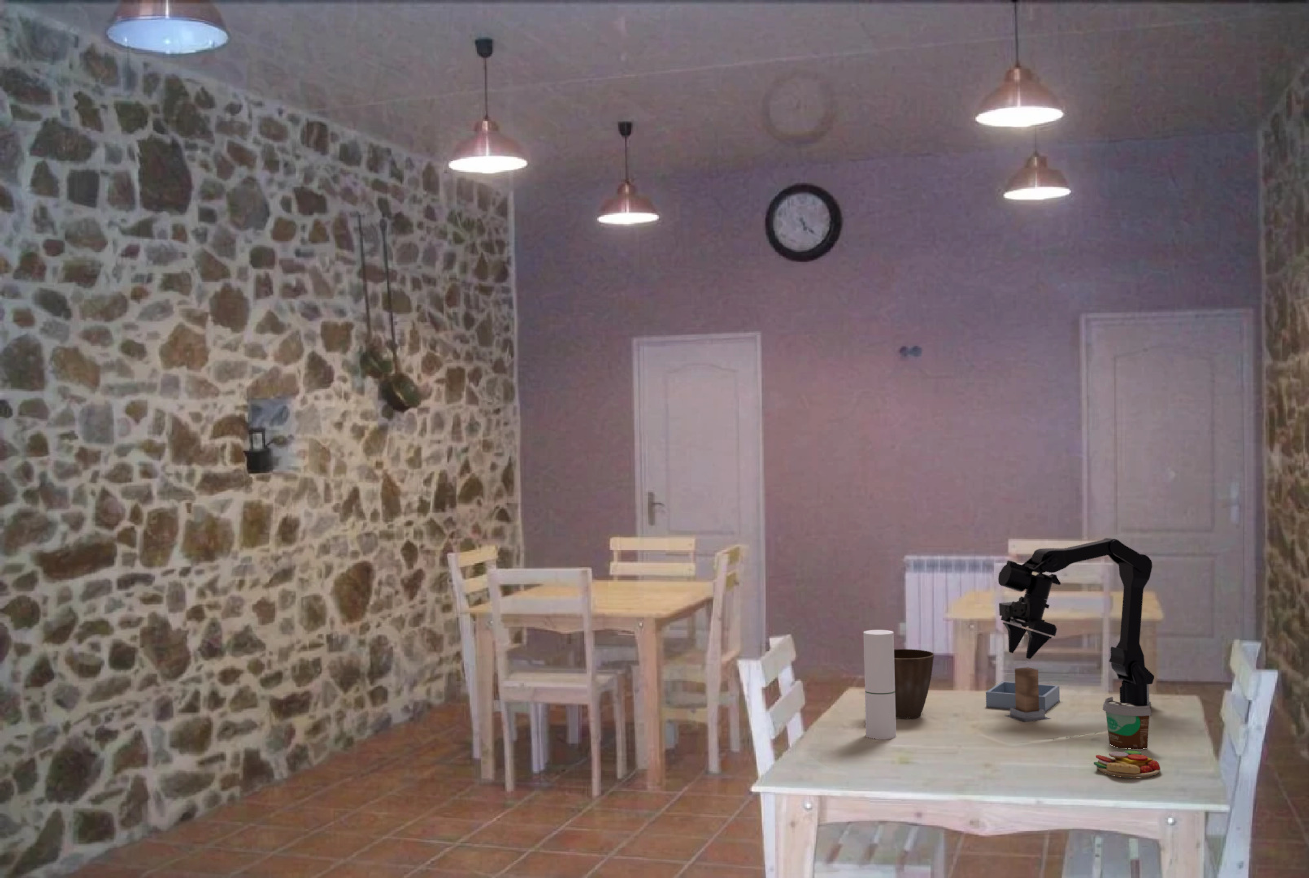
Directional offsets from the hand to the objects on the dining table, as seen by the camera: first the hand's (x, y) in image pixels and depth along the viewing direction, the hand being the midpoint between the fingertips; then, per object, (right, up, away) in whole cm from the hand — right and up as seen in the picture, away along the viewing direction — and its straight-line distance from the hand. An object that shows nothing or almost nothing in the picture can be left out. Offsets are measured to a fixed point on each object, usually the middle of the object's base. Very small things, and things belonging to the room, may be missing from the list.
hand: (1019, 655), depth 330 cm
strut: (0, -14, -6) cm, 16 cm away
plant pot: (-29, -16, +2) cm, 33 cm away
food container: (+14, -15, -35) cm, 40 cm away
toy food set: (+7, -16, -55) cm, 58 cm away
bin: (+4, -15, +10) cm, 18 cm away
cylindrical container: (-39, -16, -19) cm, 46 cm away
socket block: (0, -15, -6) cm, 16 cm away
